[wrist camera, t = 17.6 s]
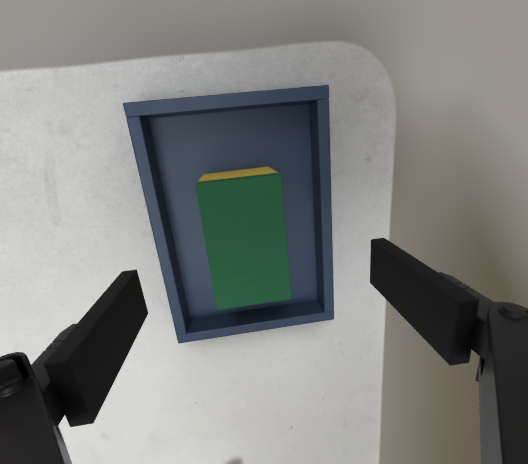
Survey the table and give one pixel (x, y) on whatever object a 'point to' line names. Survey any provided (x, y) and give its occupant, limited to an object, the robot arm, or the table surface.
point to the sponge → (245, 236)
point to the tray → (229, 159)
